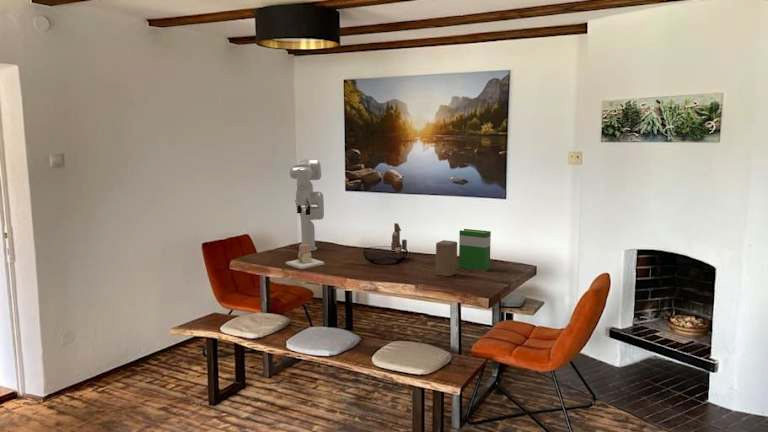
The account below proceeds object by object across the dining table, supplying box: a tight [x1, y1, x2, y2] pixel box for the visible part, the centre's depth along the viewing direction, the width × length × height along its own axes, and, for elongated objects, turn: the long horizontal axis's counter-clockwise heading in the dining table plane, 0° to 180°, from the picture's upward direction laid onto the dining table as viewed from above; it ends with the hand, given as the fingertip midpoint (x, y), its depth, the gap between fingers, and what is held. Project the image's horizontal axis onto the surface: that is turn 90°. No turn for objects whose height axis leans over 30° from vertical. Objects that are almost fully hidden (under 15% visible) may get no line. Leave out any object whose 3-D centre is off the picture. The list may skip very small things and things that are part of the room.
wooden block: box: [435, 239, 458, 277], centre depth 336 cm, size 10×10×20 cm
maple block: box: [297, 251, 312, 263], centre depth 366 cm, size 6×6×6 cm
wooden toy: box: [390, 222, 408, 259], centre depth 375 cm, size 16×7×25 cm, turn 157°
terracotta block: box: [298, 244, 311, 254], centre depth 365 cm, size 5×5×5 cm
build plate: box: [285, 257, 325, 270], centre depth 366 cm, size 18×18×2 cm
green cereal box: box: [458, 228, 492, 271], centre depth 351 cm, size 18×7×24 cm, turn 57°
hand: (303, 214), depth 362 cm, fingers open, 9 cm apart
